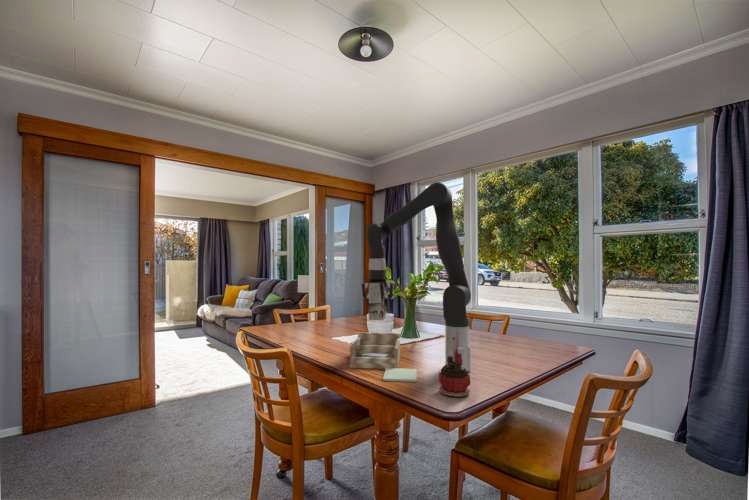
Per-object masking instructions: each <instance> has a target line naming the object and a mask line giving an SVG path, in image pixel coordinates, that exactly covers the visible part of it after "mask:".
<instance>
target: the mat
mask: <svg viewBox="0 0 749 500" xmlns="http://www.w3.org/2000/svg"><path fill="white" fill-rule="evenodd" d="M384 370H385V371H384V374H383V376H382V382H403V383H407V382H408V383H417V382H418V381H417V380H418V375H417V373H418V370H417V368H401V367H400V368H399V367H398V368H386V369H384Z"/></svg>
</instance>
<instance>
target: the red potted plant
mask: <svg viewBox="0 0 749 500" xmlns="http://www.w3.org/2000/svg"><path fill="white" fill-rule="evenodd" d="M452 347H453V357H452V356H448V357H447V362H448V365H446V364H444V365H443V366H442V367H441V369H440V371H439V373H438V383H440V386H439V388H438V391H439V392H440V393H441V394H443V395H447V396H452V397H463V396H467V395H468V394H470V391H471V389H470V388H469V386H470V385H471V376H470V374H469V373H468V372H467V370H466V369H465V368H464V365H463V363H462V354H464V348H456V351H455V337H452Z"/></svg>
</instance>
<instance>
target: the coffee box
mask: <svg viewBox="0 0 749 500" xmlns="http://www.w3.org/2000/svg"><path fill="white" fill-rule="evenodd" d="M384 291H386V292H387V286H386V287H385V288H384V282H375V283H369V286H368V293H369V306H368V320H369V321H384V320H385V319H386V318H387V307H385V296H384Z"/></svg>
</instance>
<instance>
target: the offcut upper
mask: <svg viewBox="0 0 749 500" xmlns="http://www.w3.org/2000/svg"><path fill="white" fill-rule="evenodd" d="M362 357H371V358H388V354H380V353H370V352H365V353H364V354H362Z"/></svg>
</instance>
